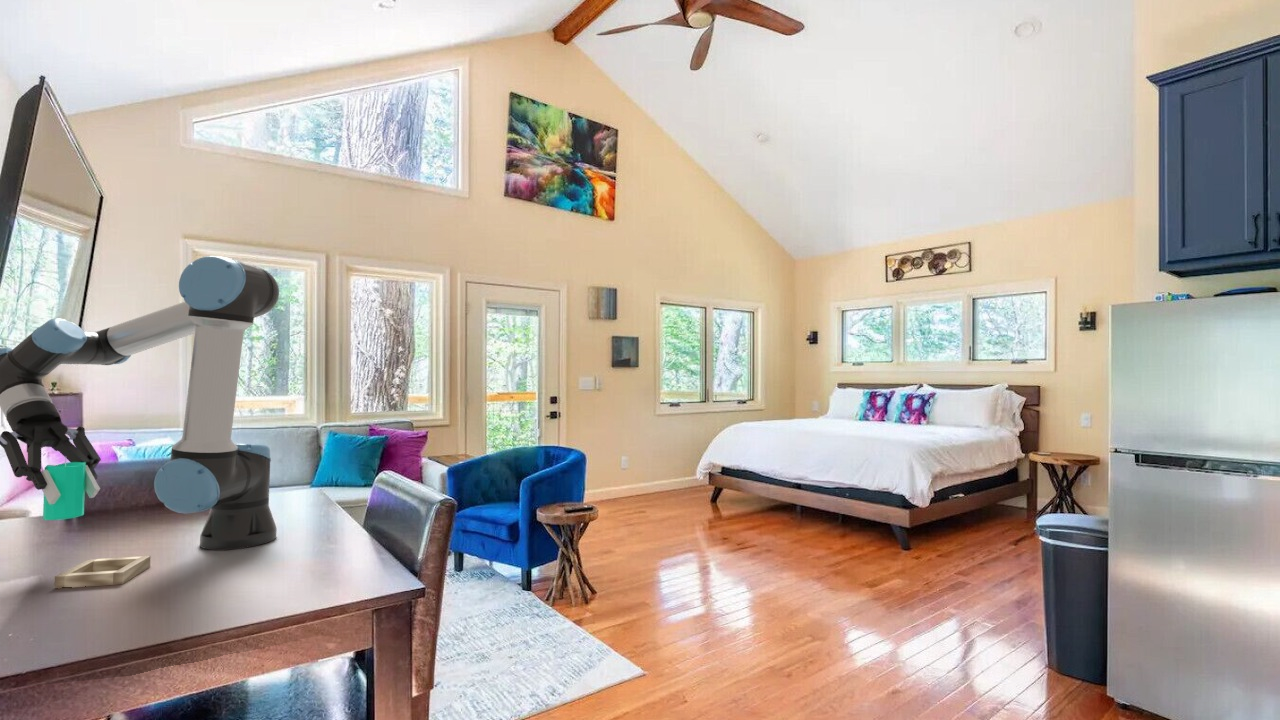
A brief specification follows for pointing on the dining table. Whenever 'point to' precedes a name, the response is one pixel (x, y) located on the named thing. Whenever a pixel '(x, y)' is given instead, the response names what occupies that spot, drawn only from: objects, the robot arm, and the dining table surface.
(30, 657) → the dining table surface
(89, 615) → the dining table surface
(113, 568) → the holder collar
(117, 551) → the dining table surface
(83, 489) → the candle
